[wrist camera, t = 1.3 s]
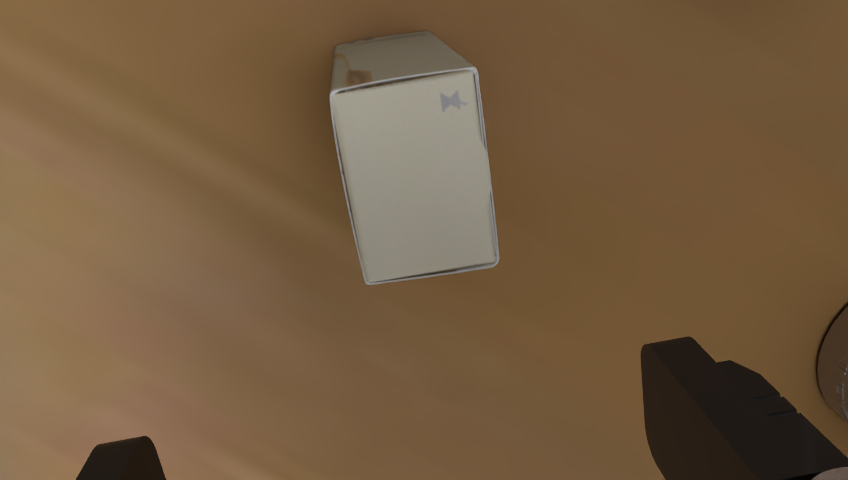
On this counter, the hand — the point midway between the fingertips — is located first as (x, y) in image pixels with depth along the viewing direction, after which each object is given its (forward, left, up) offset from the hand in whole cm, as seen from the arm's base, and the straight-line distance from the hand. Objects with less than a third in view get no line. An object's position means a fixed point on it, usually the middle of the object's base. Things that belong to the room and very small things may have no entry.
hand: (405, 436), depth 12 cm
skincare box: (-1, -2, -23) cm, 23 cm away
